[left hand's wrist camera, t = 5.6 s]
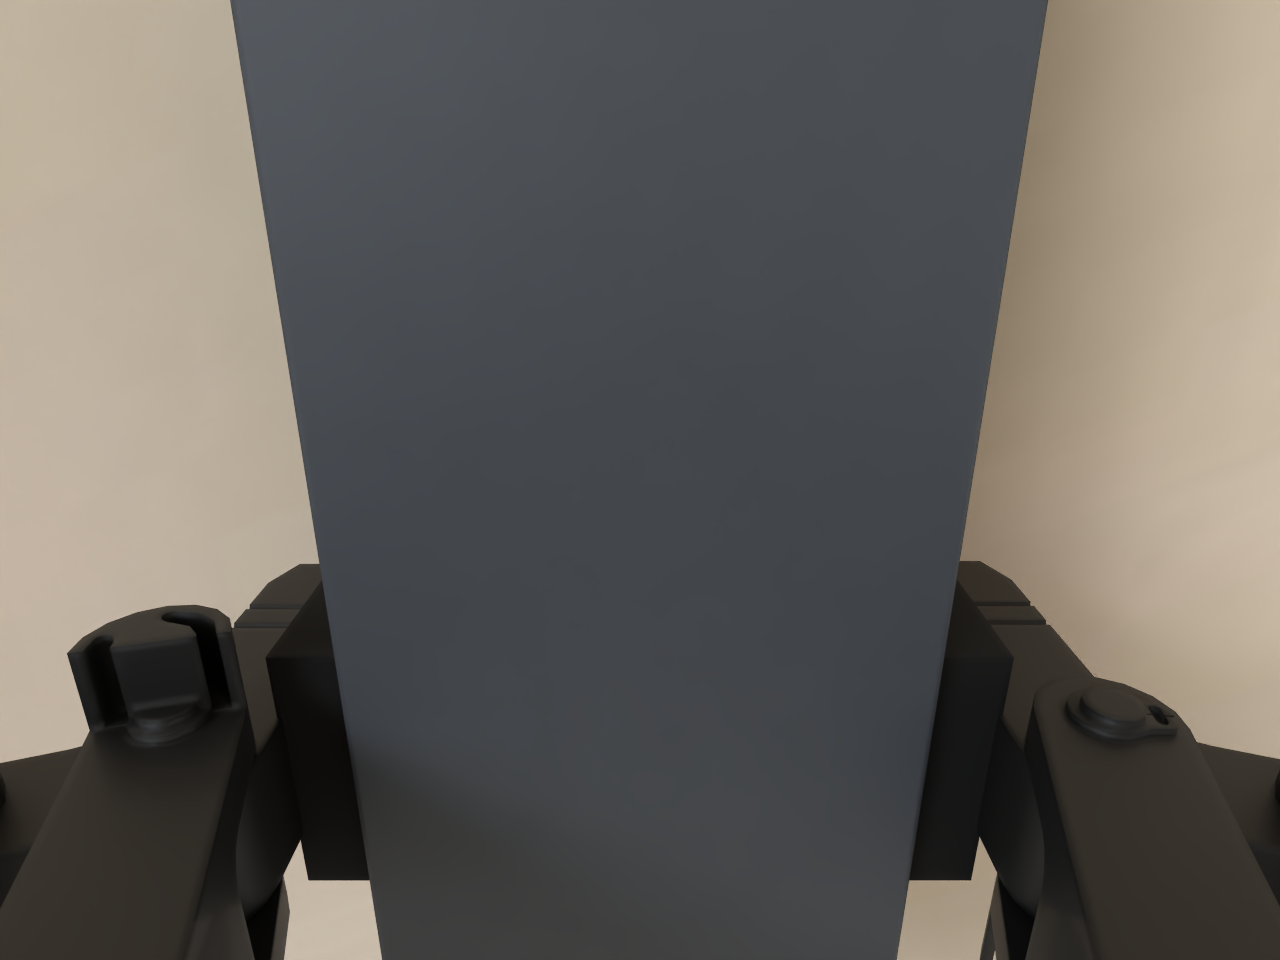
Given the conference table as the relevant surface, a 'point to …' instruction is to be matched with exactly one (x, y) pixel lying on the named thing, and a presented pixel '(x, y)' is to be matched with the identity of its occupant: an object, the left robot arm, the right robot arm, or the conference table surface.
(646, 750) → the post
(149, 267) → the conference table surface
